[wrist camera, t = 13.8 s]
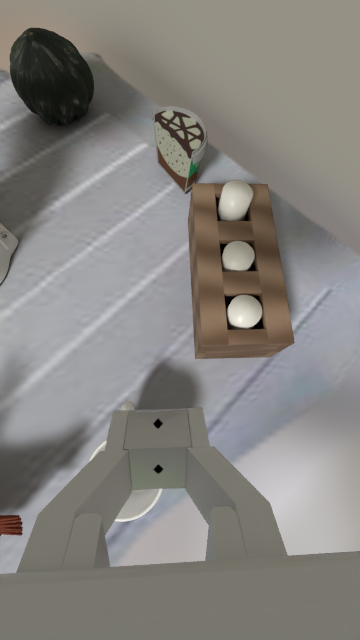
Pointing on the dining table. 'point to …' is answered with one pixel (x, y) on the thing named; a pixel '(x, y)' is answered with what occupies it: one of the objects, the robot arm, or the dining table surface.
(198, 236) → the wooden peg block
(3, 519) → the decorative bird
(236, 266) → the white rounded cylinder
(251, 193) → the white rounded cylinder
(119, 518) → the cup
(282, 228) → the dining table surface
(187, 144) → the food container
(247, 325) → the white egg
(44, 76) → the squash
